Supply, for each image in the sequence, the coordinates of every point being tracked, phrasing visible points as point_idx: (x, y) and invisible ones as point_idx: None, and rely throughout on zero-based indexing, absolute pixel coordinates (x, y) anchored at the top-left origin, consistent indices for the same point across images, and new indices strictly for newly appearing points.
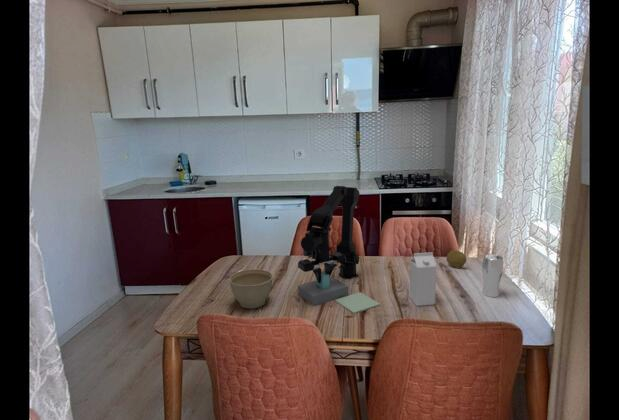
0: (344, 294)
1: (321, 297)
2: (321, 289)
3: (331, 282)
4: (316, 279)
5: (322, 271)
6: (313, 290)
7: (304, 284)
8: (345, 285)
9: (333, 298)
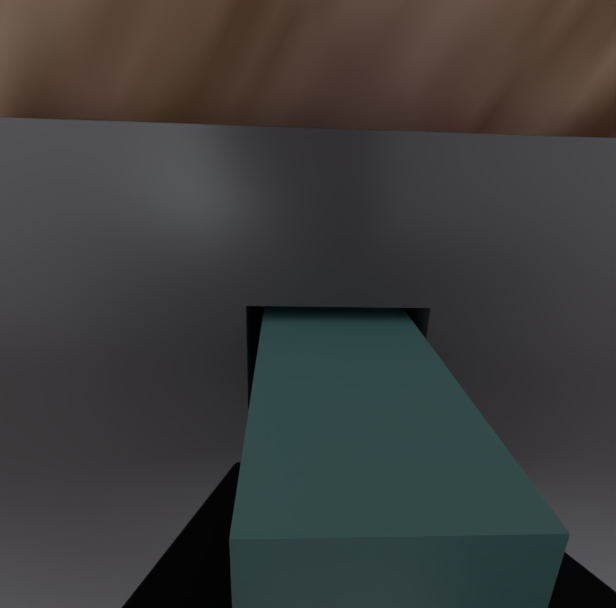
0: None
1: None
2: None
3: (542, 396)
4: (253, 385)
5: (539, 558)
6: (91, 495)
7: (24, 171)
8: (608, 579)
9: None
